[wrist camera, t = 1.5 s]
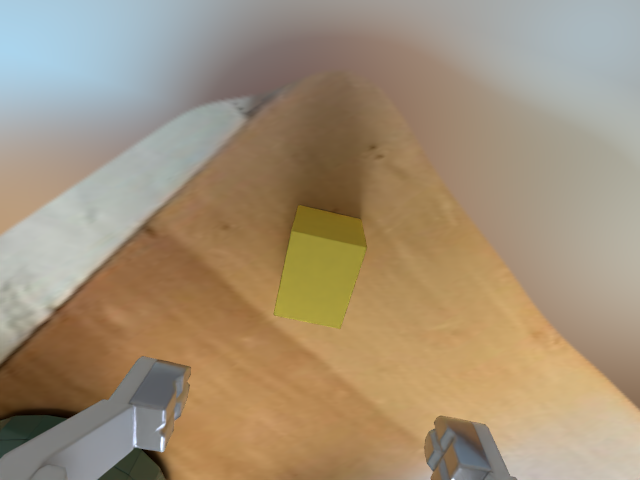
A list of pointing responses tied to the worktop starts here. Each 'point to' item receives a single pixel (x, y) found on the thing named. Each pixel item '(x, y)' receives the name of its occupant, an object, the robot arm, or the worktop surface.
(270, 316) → the worktop surface
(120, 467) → the bowl
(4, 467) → the robot arm
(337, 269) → the yellow block
